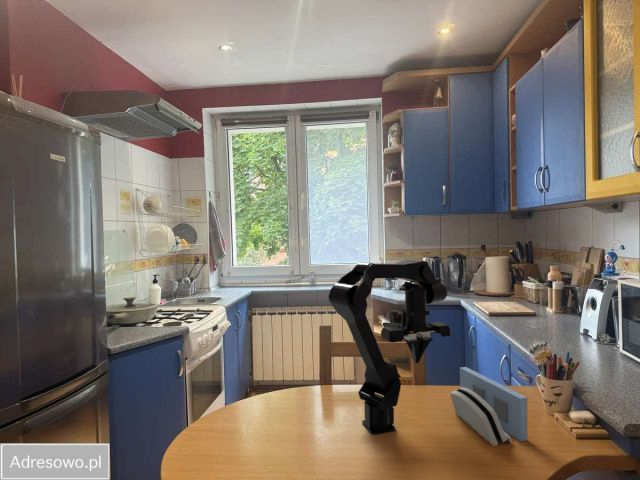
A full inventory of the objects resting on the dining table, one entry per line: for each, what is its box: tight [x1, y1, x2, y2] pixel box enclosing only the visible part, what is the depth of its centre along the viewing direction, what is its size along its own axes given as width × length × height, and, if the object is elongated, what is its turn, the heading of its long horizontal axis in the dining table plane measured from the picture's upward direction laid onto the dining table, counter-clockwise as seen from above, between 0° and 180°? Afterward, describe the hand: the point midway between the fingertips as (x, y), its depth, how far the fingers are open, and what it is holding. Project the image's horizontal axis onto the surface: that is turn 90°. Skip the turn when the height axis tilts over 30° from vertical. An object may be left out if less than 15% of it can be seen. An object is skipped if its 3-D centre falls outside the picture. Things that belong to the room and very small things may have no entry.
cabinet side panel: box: [459, 366, 528, 442], centre depth 102 cm, size 2×22×10 cm, turn 17°
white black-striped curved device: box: [449, 387, 513, 446], centre depth 98 cm, size 17×5×10 cm, turn 11°
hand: (416, 362), depth 108 cm, fingers closed
